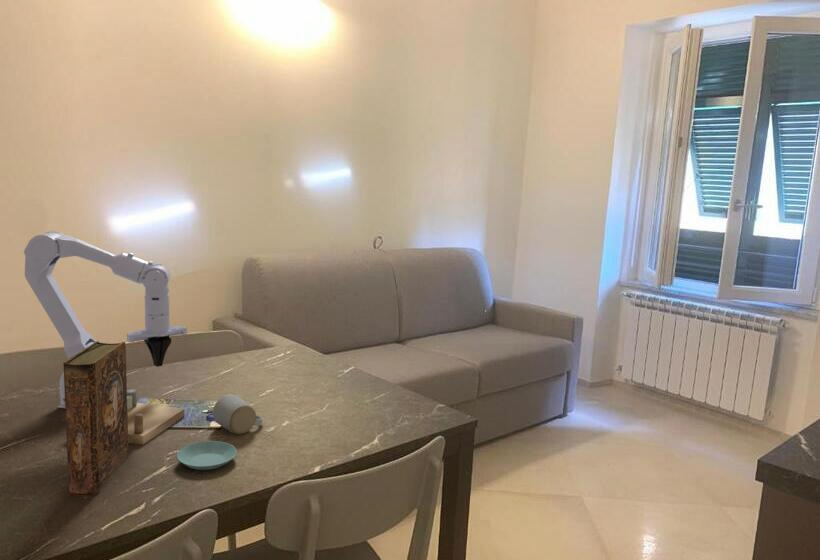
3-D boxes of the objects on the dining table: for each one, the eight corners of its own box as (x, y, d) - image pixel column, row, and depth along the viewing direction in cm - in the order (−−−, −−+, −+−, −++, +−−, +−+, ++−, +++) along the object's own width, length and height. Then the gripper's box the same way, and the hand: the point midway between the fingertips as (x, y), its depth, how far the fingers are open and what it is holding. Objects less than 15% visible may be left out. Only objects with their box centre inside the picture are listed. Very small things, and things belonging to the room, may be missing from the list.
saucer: (246, 455, 136) (246, 445, 135) (218, 480, 124) (218, 469, 124) (197, 447, 138) (197, 437, 138) (165, 471, 127) (165, 460, 126)
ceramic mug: (230, 439, 142) (231, 407, 141) (211, 428, 148) (212, 397, 147) (269, 428, 150) (270, 397, 149) (251, 418, 156) (251, 388, 154)
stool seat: (74, 435, 140) (73, 409, 139) (121, 408, 157) (121, 385, 156) (143, 444, 137) (142, 418, 136) (184, 416, 154) (184, 393, 153)
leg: (127, 402, 155) (127, 389, 155) (139, 403, 155) (138, 390, 154) (89, 424, 141) (89, 410, 140) (102, 426, 141) (101, 411, 140)
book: (96, 496, 116) (92, 365, 111) (65, 496, 115) (60, 364, 111) (128, 456, 132) (125, 340, 128) (101, 456, 131) (97, 340, 127)
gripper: (134, 320, 150) (135, 374, 153) (192, 313, 161) (192, 364, 163) (122, 314, 155) (124, 367, 158) (179, 307, 165) (180, 357, 168)
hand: (158, 365), depth 161 cm, fingers closed
